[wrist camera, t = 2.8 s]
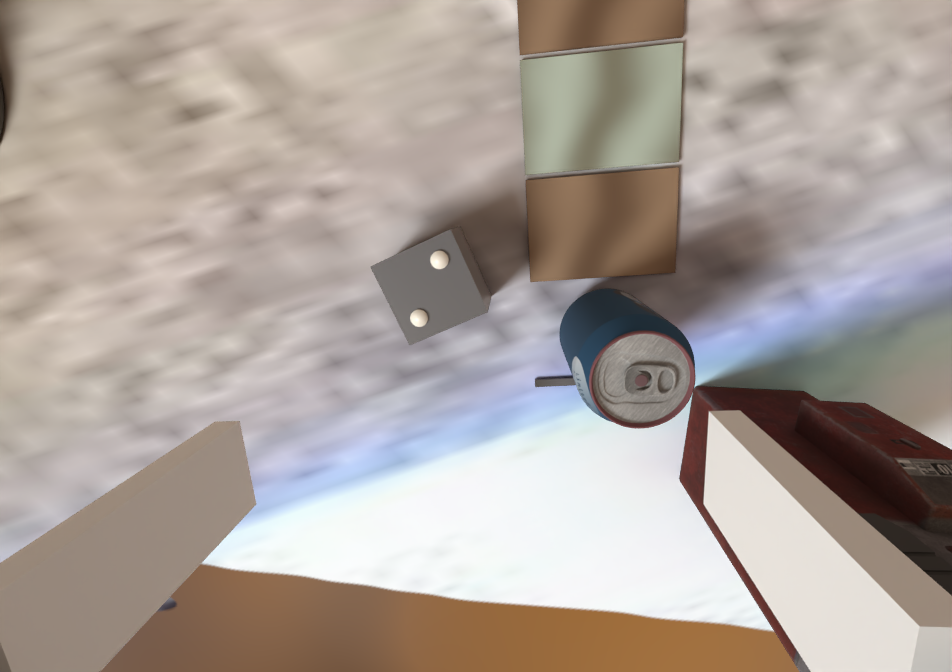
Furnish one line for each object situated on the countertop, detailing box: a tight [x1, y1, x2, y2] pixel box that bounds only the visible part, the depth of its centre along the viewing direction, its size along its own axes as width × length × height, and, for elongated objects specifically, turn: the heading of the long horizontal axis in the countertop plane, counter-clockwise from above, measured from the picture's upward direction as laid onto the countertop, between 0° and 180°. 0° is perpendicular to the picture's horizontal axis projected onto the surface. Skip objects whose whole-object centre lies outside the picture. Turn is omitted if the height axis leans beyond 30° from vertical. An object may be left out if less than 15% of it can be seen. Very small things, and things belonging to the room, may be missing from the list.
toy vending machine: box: [679, 386, 952, 672], centre depth 25 cm, size 9×11×28 cm
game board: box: [517, 0, 684, 387], centre depth 34 cm, size 11×32×1 cm, turn 4°
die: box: [371, 227, 491, 345], centre depth 34 cm, size 6×6×6 cm
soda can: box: [560, 289, 695, 428], centre depth 31 cm, size 7×7×12 cm
